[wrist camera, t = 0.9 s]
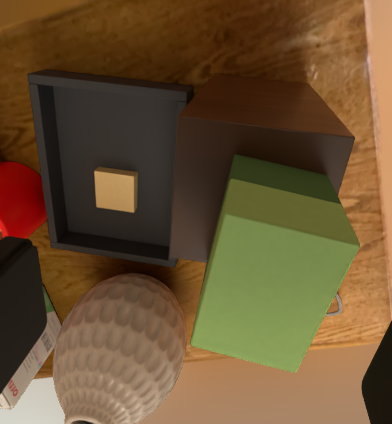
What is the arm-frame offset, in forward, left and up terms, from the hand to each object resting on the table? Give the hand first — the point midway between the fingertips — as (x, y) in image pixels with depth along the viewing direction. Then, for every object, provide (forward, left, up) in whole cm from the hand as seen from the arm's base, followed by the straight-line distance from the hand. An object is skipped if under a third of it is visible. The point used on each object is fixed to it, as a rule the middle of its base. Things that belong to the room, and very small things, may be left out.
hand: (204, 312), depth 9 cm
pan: (+7, -11, -25) cm, 29 cm away
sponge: (+2, +2, -9) cm, 10 cm away
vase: (+23, -8, -25) cm, 35 cm away
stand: (+1, +1, -25) cm, 25 cm away
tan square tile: (+9, -11, -25) cm, 28 cm away
